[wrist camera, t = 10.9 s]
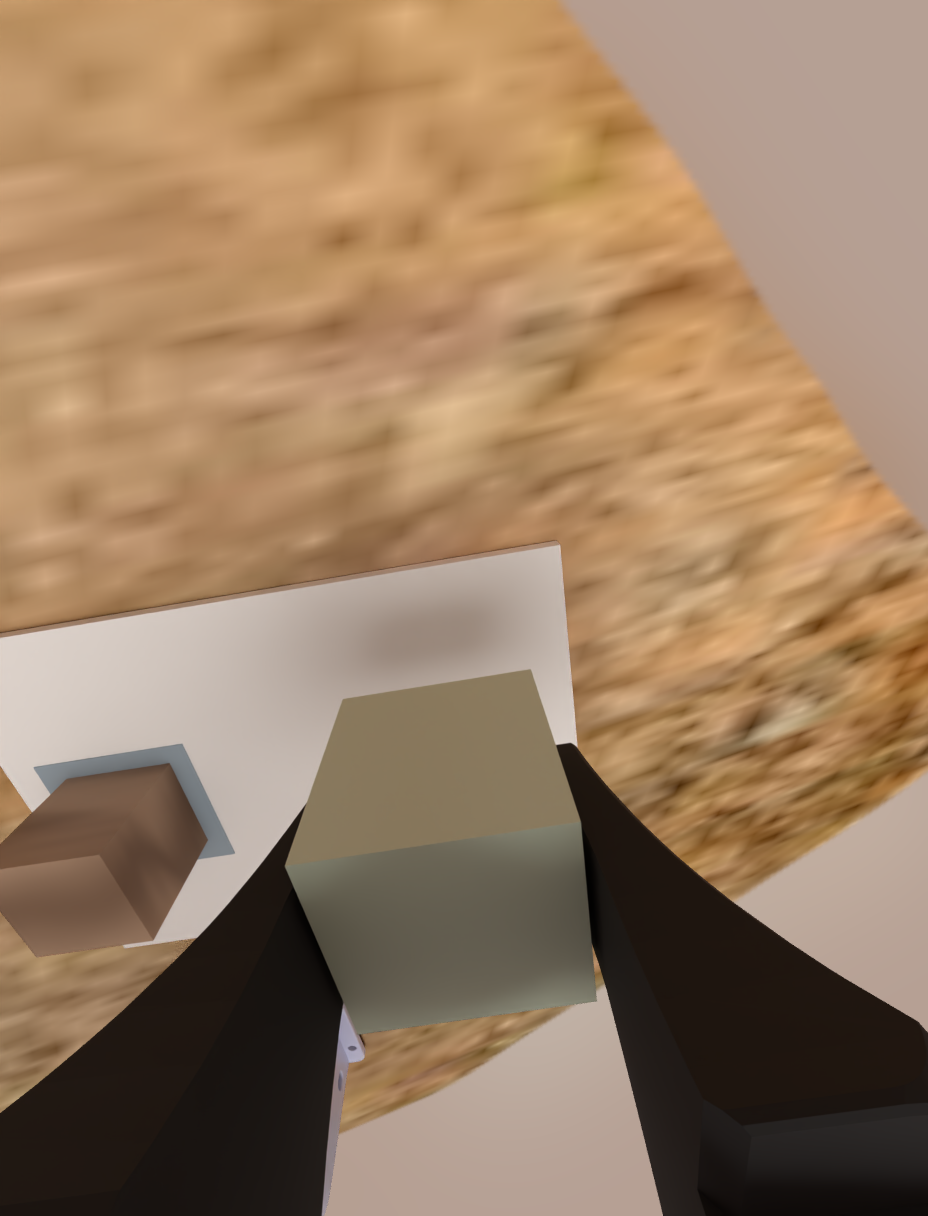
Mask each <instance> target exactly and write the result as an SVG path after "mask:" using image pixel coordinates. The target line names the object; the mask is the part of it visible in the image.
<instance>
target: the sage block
mask: <svg viewBox="0 0 928 1216" xmlns="http://www.w3.org/2000/svg"><path fill="white" fill-rule="evenodd" d="M285 868H286V870H287V873H288V875H289V877H290V879H291V882H292V884H293V886H294V889H295V891H296V893H297V896H298V898H299V900H300V903H301V905H302V907H303V909H304V912H305V914H306V916H307V919H308V921H309V923H310V926H311V928H312V930H313V933H314V935H315V937H316V940H317V942H318V944H319V946H320V949H321V951H322V953H323V956H324V958H325V960H326V963H327V965H328V967H329V970H330V972H331V974H332V976H333V979H334V981H335V983H336V986H337V988H338V990H339V993H340V995H341V997H342V1000H343V1002H344V1004H345V1006H346V1009H347V1011H348V1013H349V1016H350V1018H351V1020H352V1023H353V1025H354V1027H355V1030H356V1032H357V1034H358V1035H359V1034H366V1033H373V1032H380V1031H387V1030H395V1029H402V1028H409V1027H416V1026H423V1025H431V1024H438V1023H445V1022H452V1021H459V1020H466V1019H474V1018H481V1017H488V1016H495V1015H502V1014H509V1013H517V1012H524V1011H531V1010H538V1009H545V1008H552V1007H560V1006H567V1005H574V1004H581V1003H588V1002H596V1001H597V999H596V987H595V975H594V964H593V953H592V942H591V930H590V919H589V908H588V897H587V885H586V874H585V863H584V852H583V840H582V829H581V821H580V818H579V815H578V812H577V808H576V805H575V802H574V799H573V796H572V793H571V790H570V787H569V784H568V781H567V778H566V775H565V772H564V769H563V766H562V763H561V760H560V757H559V754H558V751H557V747H556V744H555V741H554V738H553V735H552V732H551V729H550V726H549V723H548V720H547V717H546V714H545V711H544V708H543V705H542V702H541V699H540V696H539V693H538V689H537V686H536V683H535V680H534V677H533V674H532V671H531V669H528V670H522V671H516V672H509V673H503V674H497V675H490V676H484V677H478V678H472V679H465V680H459V681H453V682H446V683H440V684H434V685H428V686H421V687H415V688H409V689H403V690H396V691H390V692H384V693H377V694H371V695H365V696H359V697H352V698H346V699H343V700H342V703H341V705H340V708H339V711H338V714H337V717H336V720H335V723H334V726H333V729H332V731H331V734H330V737H329V740H328V743H327V746H326V749H325V752H324V754H323V757H322V760H321V763H320V766H319V769H318V772H317V775H316V777H315V780H314V783H313V786H312V789H311V792H310V795H309V798H308V801H307V803H306V806H305V809H304V812H303V815H302V818H301V821H300V824H299V826H298V829H297V832H296V835H295V838H294V841H293V844H292V847H291V849H290V852H289V855H288V858H287V861H286V864H285Z"/></svg>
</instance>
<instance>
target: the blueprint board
mask: <svg viewBox="0 0 928 1216" xmlns="http://www.w3.org/2000/svg"><path fill="white" fill-rule="evenodd" d="M528 669H531V671H532V674H533V677H534V680H535V683H536V686H537V689H538V693H539V696H540V699H541V702H542V705H543V708H544V711H545V714H546V717H547V720H548V723H549V726H550V729H551V732H552V735H553V738H554V741H555V744H556V745H559V744H565V743H572V744H574V745H575V746H576V747H577V736H576V724H575V713H574V701H573V689H572V678H571V666H570V654H569V643H568V631H567V619H566V607H565V596H564V584H563V572H562V561H561V549H560V544H559V543H558V542H557V541H551V542H545V543H539V544H533V545H527V546H521V547H515V548H509V549H503V550H497V551H491V552H485V553H479V554H473V555H467V556H461V557H455V558H449V559H443V560H437V561H431V562H425V563H419V564H413V565H407V566H401V567H395V568H389V569H383V570H377V571H371V572H365V573H359V574H353V575H347V576H341V577H335V578H329V579H323V580H317V581H311V582H305V583H299V584H293V585H287V586H281V587H275V588H269V589H263V590H257V591H251V592H245V593H239V594H233V595H227V596H221V597H215V598H209V599H203V600H197V601H191V602H185V603H179V604H173V605H167V606H161V607H155V608H149V609H143V610H137V611H131V612H125V613H119V614H113V615H107V616H101V617H95V618H89V619H83V620H77V621H71V622H65V623H59V624H53V625H47V626H41V627H35V628H29V629H23V630H17V631H11V632H5V633H0V766H1V768H2V769H3V770H4V772H5V773H6V775H7V776H8V778H9V779H10V781H11V782H12V784H13V785H14V787H15V788H16V790H17V791H18V792H19V794H20V795H21V797H22V798H23V800H24V801H25V803H26V804H27V806H28V807H29V809H30V810H31V812H33V811H34V810H35V809H36V808H37V807H38V806H39V805H40V804H42V803H43V802H44V801H45V800H46V799H47V798H48V797H49V796H50V795H51V794H52V793H53V792H54V791H55V790H56V789H57V788H58V787H59V786H60V785H61V784H62V783H63V782H64V781H65V780H66V779H68V778H75V777H81V776H88V775H95V774H101V773H108V772H114V771H121V770H128V769H134V768H141V767H147V766H154V765H161V764H167V763H170V765H171V767H172V769H173V771H174V773H175V775H176V777H177V779H178V781H179V783H180V785H181V787H182V789H183V791H184V793H185V795H186V797H187V799H188V801H189V803H190V805H191V807H192V809H193V811H194V813H195V815H196V817H197V819H198V821H199V823H200V825H201V827H202V829H203V831H204V833H205V835H206V837H207V839H208V841H207V843H206V845H205V847H204V849H203V850H202V852H201V854H200V856H199V858H198V860H197V861H196V863H195V865H194V867H193V869H192V871H191V872H190V874H189V876H188V878H187V880H186V882H185V883H184V885H183V887H182V889H181V891H180V893H179V895H178V896H177V898H176V900H175V902H174V904H173V906H172V907H171V909H170V911H169V913H168V915H167V917H166V918H165V920H164V922H163V924H162V926H161V928H160V929H159V931H158V933H157V935H156V937H155V939H154V940H153V941H148V942H141V943H134V944H127V945H123V946H124V948H131V947H137V946H144V945H151V944H158V943H165V942H172V941H178V940H185V939H192V938H197V937H198V936H199V935H200V934H201V933H202V932H203V931H204V930H205V929H206V928H207V927H208V926H209V925H210V924H211V922H212V921H213V920H214V919H215V918H216V917H217V916H218V915H219V914H220V912H221V911H222V910H223V909H224V908H225V907H226V906H227V904H228V903H229V902H230V901H231V900H232V899H233V897H234V896H235V895H236V894H237V892H238V891H239V890H240V889H241V888H242V886H243V885H244V884H245V883H246V882H247V880H248V879H249V878H250V877H251V875H252V874H253V873H254V872H255V871H256V869H257V868H258V867H259V866H260V864H261V863H262V862H263V861H264V859H265V858H266V857H267V855H268V854H269V853H270V851H271V850H272V849H273V847H274V846H275V845H276V843H277V842H278V841H279V839H280V838H281V837H282V836H283V834H284V833H285V832H286V830H287V829H288V827H289V826H290V825H291V823H292V822H293V821H294V819H295V818H296V817H297V815H298V814H299V812H300V811H301V810H302V808H303V807H304V806H305V804H306V803H307V801H308V798H309V795H310V792H311V789H312V786H313V783H314V780H315V777H316V775H317V772H318V769H319V766H320V763H321V760H322V757H323V754H324V752H325V749H326V746H327V743H328V740H329V737H330V734H331V731H332V729H333V726H334V723H335V720H336V717H337V714H338V711H339V708H340V705H341V703H342V700H343V699H346V698H352V697H359V696H365V695H371V694H377V693H384V692H390V691H396V690H403V689H409V688H415V687H421V686H428V685H434V684H440V683H446V682H453V681H459V680H465V679H472V678H478V677H484V676H490V675H497V674H503V673H509V672H516V671H522V670H528Z"/></svg>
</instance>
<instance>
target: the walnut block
mask: <svg viewBox="0 0 928 1216" xmlns="http://www.w3.org/2000/svg"><path fill="white" fill-rule="evenodd" d="M207 841H208V839H207V837H206V835H205V833H204V831H203V829H202V827H201V825H200V823H199V821H198V819H197V817H196V815H195V813H194V811H193V809H192V807H191V805H190V803H189V801H188V799H187V797H186V795H185V793H184V791H183V789H182V787H181V785H180V783H179V781H178V779H177V777H176V775H175V773H174V771H173V769H172V767H171V765H170V763H167V764H161V765H154V766H147V767H141V768H134V769H128V770H121V771H114V772H108V773H101V774H95V775H88V776H81V777H75V778H68V779H66V780H65V781H64V782H63V783H62V784H61V785H60V786H59V787H58V788H57V789H56V790H55V791H54V792H53V793H52V794H51V795H50V796H49V797H48V798H47V799H46V800H45V801H44V802H43V803H42V804H40V805H39V806H38V807H37V808H36V809H35V810H34V811H33V812H32V813H31V814H30V815H29V816H28V817H27V818H26V819H25V820H24V821H23V822H22V823H21V824H20V825H19V826H18V827H17V828H16V829H15V830H14V831H13V832H12V833H11V834H10V835H9V836H8V837H7V838H6V839H5V840H4V841H3V842H2V843H1V844H0V912H1V913H2V914H3V916H4V917H5V918H6V919H7V921H8V922H9V923H10V924H11V926H12V927H13V928H14V929H15V931H16V932H17V933H18V935H19V936H20V937H21V938H22V940H23V941H24V942H25V943H26V945H27V946H28V947H29V948H30V950H31V951H32V952H33V953H34V955H35V956H36V957H42V956H49V955H56V954H63V953H71V952H78V951H85V950H92V949H99V948H106V947H113V946H120V945H127V944H134V943H141V942H148V941H153V940H154V939H155V937H156V935H157V933H158V931H159V929H160V928H161V926H162V924H163V922H164V920H165V918H166V917H167V915H168V913H169V911H170V909H171V907H172V906H173V904H174V902H175V900H176V898H177V896H178V895H179V893H180V891H181V889H182V887H183V885H184V883H185V882H186V880H187V878H188V876H189V874H190V872H191V871H192V869H193V867H194V865H195V863H196V861H197V860H198V858H199V856H200V854H201V852H202V850H203V849H204V847H205V845H206V843H207Z"/></svg>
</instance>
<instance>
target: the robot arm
mask: <svg viewBox="0 0 928 1216" xmlns="http://www.w3.org/2000/svg"><path fill="white" fill-rule="evenodd" d="M556 747H557V751H558V754H559V757H560V760H561V763H562V766H563V769H564V772H565V775H566V778H567V781H568V784H569V787H570V790H571V793H572V796H573V799H574V802H575V805H576V808H577V812H578V815H579V818H580V821H581V829H582V840H583V852H584V863H585V874H586V885H587V897H588V908H589V919H590V930H591V942H592V945H593V948H594V951H595V954H596V957H597V960H598V963H599V966H600V969H601V972H602V976H603V979H604V982H605V986H606V989H607V993H608V997H609V1000H610V1004H611V1008H612V1012H613V1016H614V1020H615V1024H616V1028H617V1031H618V1035H619V1039H620V1043H621V1047H622V1051H623V1055H624V1059H625V1063H626V1067H627V1071H628V1075H629V1079H630V1082H631V1087H632V1091H633V1095H634V1099H635V1102H636V1107H637V1110H638V1115H639V1119H640V1122H641V1126H642V1131H643V1135H644V1139H645V1143H646V1147H647V1151H648V1155H649V1159H650V1163H651V1168H652V1172H653V1176H654V1179H655V1184H656V1188H657V1192H658V1196H659V1200H660V1204H661V1209H662V1213H663V1216H928V1032H927V1031H926V1030H925V1029H924V1028H923V1027H922V1026H921V1025H920V1023H919V1022H918V1021H916V1020H914V1019H913V1018H911V1017H909V1016H908V1015H906V1014H904V1013H903V1012H901V1011H899V1010H897V1009H896V1008H894V1007H892V1006H890V1005H889V1004H887V1003H886V1002H884V1001H882V1000H880V999H879V998H877V997H875V996H874V995H872V994H870V993H868V992H867V991H865V990H863V989H862V988H860V987H858V986H857V985H855V984H853V983H852V982H850V981H848V980H846V979H844V978H843V977H842V976H840V975H838V974H837V973H835V972H833V971H832V970H830V969H829V968H827V967H826V966H824V965H823V964H821V963H820V962H818V961H816V960H815V959H814V958H812V957H810V956H809V955H807V954H806V953H804V952H803V951H801V950H800V949H798V948H797V947H795V946H794V945H792V944H791V943H789V942H788V941H786V940H785V939H784V938H782V937H781V936H780V935H778V934H777V933H775V932H774V931H773V930H771V929H770V928H768V927H767V926H766V925H764V924H763V923H761V922H760V921H759V920H757V919H756V918H754V917H753V916H752V915H750V914H749V913H747V912H746V911H745V910H743V909H742V908H740V907H739V906H738V905H736V904H735V903H734V902H732V901H731V900H730V899H728V898H727V897H726V896H725V895H723V894H722V893H721V892H720V891H718V890H717V889H716V888H714V887H713V886H712V885H711V884H709V883H708V882H707V881H706V880H704V879H703V878H702V877H701V876H700V875H698V874H697V873H696V872H695V871H694V870H693V869H691V868H690V867H689V866H688V865H687V864H685V863H684V862H683V861H682V860H681V859H680V858H679V857H677V856H676V855H675V854H674V853H673V852H672V851H671V850H670V849H669V848H667V847H666V846H665V845H664V844H663V843H662V842H661V841H660V840H659V839H658V838H657V837H656V836H655V835H654V834H653V833H652V832H651V831H650V830H648V829H647V828H646V827H645V826H644V825H643V824H642V823H641V822H640V821H639V820H638V819H637V818H636V817H635V816H634V815H633V814H632V812H631V811H630V810H629V809H628V808H627V807H626V806H625V805H624V804H623V803H622V802H621V801H620V800H619V798H618V797H617V796H616V795H615V794H614V793H613V792H612V791H611V790H610V789H609V787H608V786H607V785H606V784H605V783H604V782H603V780H602V779H601V778H600V777H599V776H598V774H597V773H596V772H595V771H594V770H593V768H592V767H591V766H590V765H589V763H588V762H587V761H586V759H585V758H584V757H583V755H582V754H581V753H580V751H579V750H578V748H577V747H576V746H575V745H574V744H572V743H565V744H559V745H556ZM305 806H306V804H305ZM305 806H304V807H303V808H302V810H301V811H300V812H299V814H298V815H297V817H296V818H295V819H294V821H293V822H292V823H291V825H290V826H289V827H288V829H287V830H286V832H285V833H284V834H283V836H282V837H281V838H280V839H279V841H278V842H277V843H276V845H275V846H274V847H273V849H272V850H271V851H270V853H269V854H268V855H267V857H266V858H265V859H264V861H263V862H262V863H261V864H260V866H259V867H258V868H257V869H256V871H255V872H254V873H253V874H252V875H251V877H250V878H249V879H248V880H247V882H246V883H245V884H244V885H243V886H242V888H241V889H240V890H239V891H238V892H237V894H236V895H235V896H234V897H233V899H232V900H231V901H230V902H229V903H228V904H227V906H226V907H225V908H224V909H223V910H222V911H221V912H220V914H219V915H218V916H217V917H216V918H215V919H214V920H213V921H212V922H211V924H210V925H209V926H208V927H207V928H206V929H205V930H204V931H203V932H202V933H201V934H200V935H199V936H198V937H197V938H196V939H195V941H194V942H193V943H192V944H191V945H190V946H189V947H188V948H187V949H186V950H185V951H184V952H183V953H182V954H181V955H180V956H179V957H178V958H177V959H176V960H175V961H174V962H173V963H172V964H171V965H170V966H169V967H168V968H167V969H166V970H165V971H164V972H163V973H162V974H161V975H160V976H159V977H158V978H156V979H155V980H154V981H153V982H152V983H151V984H150V985H149V986H148V987H147V988H146V989H145V990H144V991H143V992H142V993H141V994H140V995H139V996H138V997H137V998H136V999H135V1000H133V1001H132V1002H131V1003H130V1004H129V1005H128V1006H127V1007H126V1008H125V1009H124V1010H123V1011H122V1012H121V1013H120V1014H118V1015H117V1016H116V1017H115V1018H114V1019H113V1020H112V1021H111V1022H109V1023H108V1024H107V1025H106V1026H105V1027H104V1028H103V1029H102V1030H100V1031H99V1032H98V1033H97V1034H96V1035H95V1036H94V1037H93V1038H91V1039H90V1040H89V1041H88V1042H87V1043H86V1044H84V1045H83V1046H82V1047H81V1048H80V1049H79V1050H77V1051H76V1052H75V1053H74V1054H73V1055H71V1056H70V1057H69V1058H68V1059H67V1060H66V1061H64V1062H63V1063H62V1064H61V1065H60V1066H59V1067H57V1068H56V1069H55V1070H54V1071H52V1072H51V1073H50V1074H49V1075H48V1076H46V1077H45V1078H44V1079H43V1080H42V1081H40V1082H39V1083H38V1084H37V1085H35V1086H34V1087H33V1088H32V1089H30V1090H29V1091H28V1092H27V1093H25V1094H24V1095H23V1096H21V1097H20V1098H19V1099H18V1100H16V1101H15V1102H14V1103H13V1104H11V1105H10V1106H9V1107H7V1108H6V1109H5V1110H4V1111H2V1112H1V1113H0V1216H324V1214H325V1211H326V1208H327V1204H328V1200H329V1195H330V1189H331V1182H332V1175H333V1167H334V1161H335V1153H336V1146H337V1140H338V1134H339V1127H340V1120H341V1113H342V1106H343V1099H344V1092H345V1085H346V1079H347V1072H348V1065H349V1063H351V1062H358V1061H361V1060H363V1059H364V1057H365V1048H364V1045H363V1043H362V1041H361V1038H360V1036H359V1035H358V1034H357V1032H356V1030H355V1027H354V1025H353V1023H352V1020H351V1018H350V1016H349V1013H348V1011H347V1009H346V1006H345V1004H344V1002H343V1000H342V997H341V995H340V993H339V990H338V988H337V986H336V983H335V981H334V979H333V976H332V974H331V972H330V970H329V967H328V965H327V963H326V960H325V958H324V956H323V953H322V951H321V949H320V946H319V944H318V942H317V940H316V937H315V935H314V933H313V930H312V928H311V926H310V923H309V921H308V919H307V916H306V914H305V912H304V909H303V907H302V905H301V903H300V900H299V898H298V896H297V893H296V891H295V889H294V886H293V884H292V882H291V879H290V877H289V875H288V873H287V870H286V868H285V864H286V861H287V858H288V855H289V852H290V849H291V847H292V844H293V841H294V838H295V835H296V832H297V829H298V826H299V824H300V821H301V818H302V815H303V812H304V809H305Z"/></svg>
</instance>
